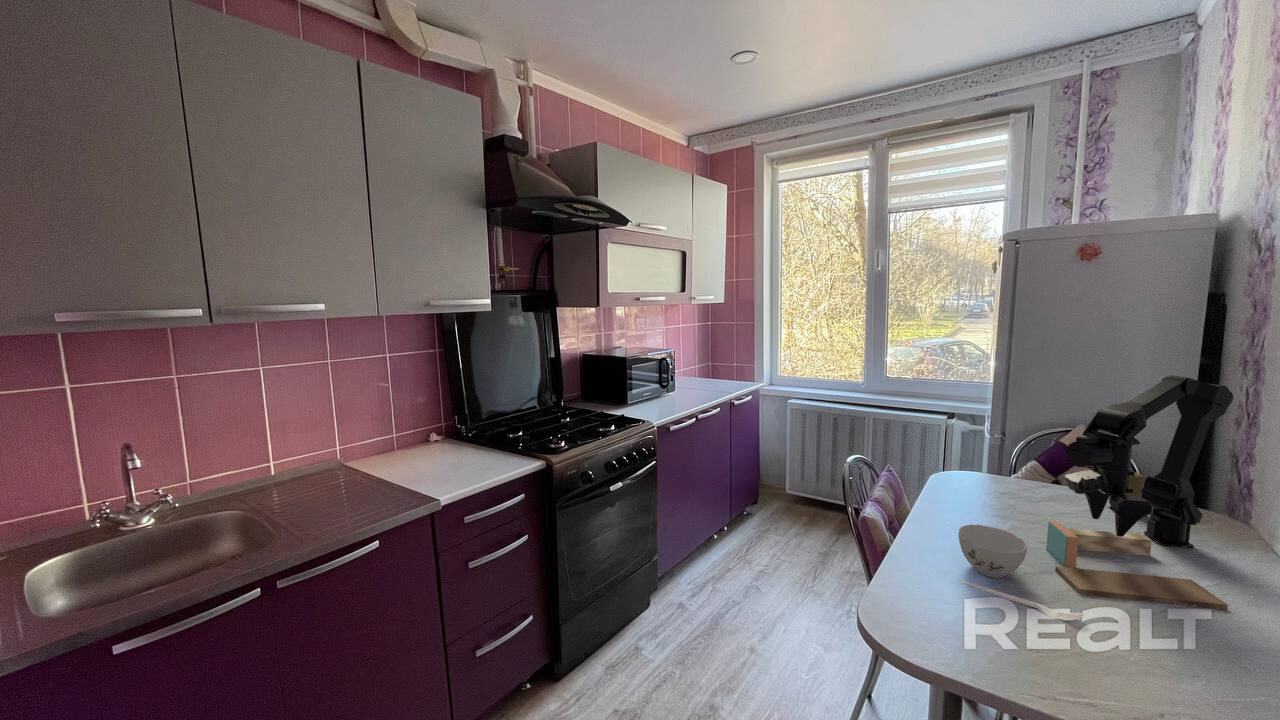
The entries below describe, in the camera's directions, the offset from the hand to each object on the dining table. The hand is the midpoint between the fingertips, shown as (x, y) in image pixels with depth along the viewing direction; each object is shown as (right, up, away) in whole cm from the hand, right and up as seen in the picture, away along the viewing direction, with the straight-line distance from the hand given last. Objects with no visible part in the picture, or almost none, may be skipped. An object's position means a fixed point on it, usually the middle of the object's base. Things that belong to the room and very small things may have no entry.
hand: (1107, 527), depth 121 cm
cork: (+25, -3, +21) cm, 33 cm away
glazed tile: (-13, -6, -3) cm, 15 cm away
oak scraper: (0, -6, +1) cm, 6 cm away
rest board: (-8, -8, -16) cm, 19 cm away
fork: (-35, -9, -19) cm, 41 cm away
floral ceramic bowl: (-32, -7, -7) cm, 34 cm away
